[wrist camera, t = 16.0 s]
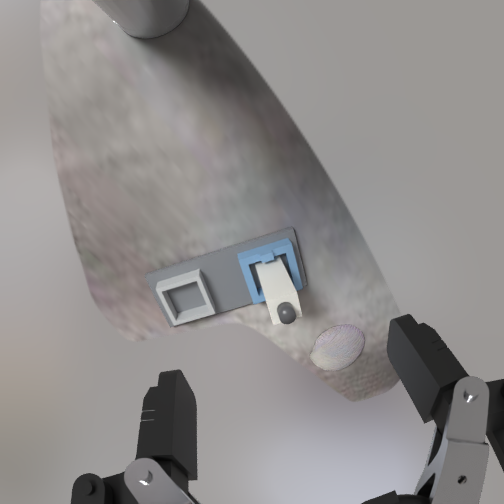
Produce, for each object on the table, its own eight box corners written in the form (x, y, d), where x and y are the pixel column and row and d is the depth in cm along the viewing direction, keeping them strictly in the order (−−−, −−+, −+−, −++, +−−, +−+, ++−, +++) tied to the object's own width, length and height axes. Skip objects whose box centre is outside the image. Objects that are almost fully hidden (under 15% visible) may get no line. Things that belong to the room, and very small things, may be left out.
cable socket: (170, 324, 46) (168, 338, 42) (145, 273, 42) (140, 286, 39) (305, 282, 46) (312, 295, 42) (292, 226, 42) (298, 236, 39)
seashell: (310, 341, 47) (373, 337, 45) (309, 321, 52) (366, 317, 50) (310, 386, 51) (366, 381, 49) (308, 365, 56) (361, 361, 54)
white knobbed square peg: (260, 282, 44) (276, 333, 33) (254, 261, 42) (268, 309, 32) (284, 275, 44) (306, 324, 33) (278, 254, 42) (300, 299, 32)
